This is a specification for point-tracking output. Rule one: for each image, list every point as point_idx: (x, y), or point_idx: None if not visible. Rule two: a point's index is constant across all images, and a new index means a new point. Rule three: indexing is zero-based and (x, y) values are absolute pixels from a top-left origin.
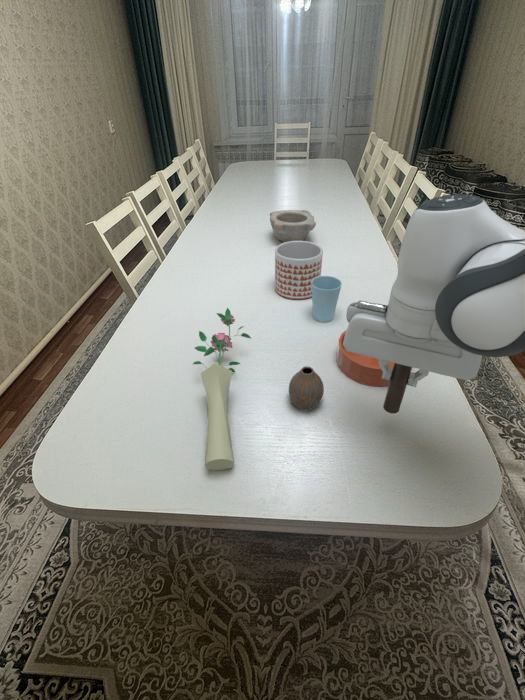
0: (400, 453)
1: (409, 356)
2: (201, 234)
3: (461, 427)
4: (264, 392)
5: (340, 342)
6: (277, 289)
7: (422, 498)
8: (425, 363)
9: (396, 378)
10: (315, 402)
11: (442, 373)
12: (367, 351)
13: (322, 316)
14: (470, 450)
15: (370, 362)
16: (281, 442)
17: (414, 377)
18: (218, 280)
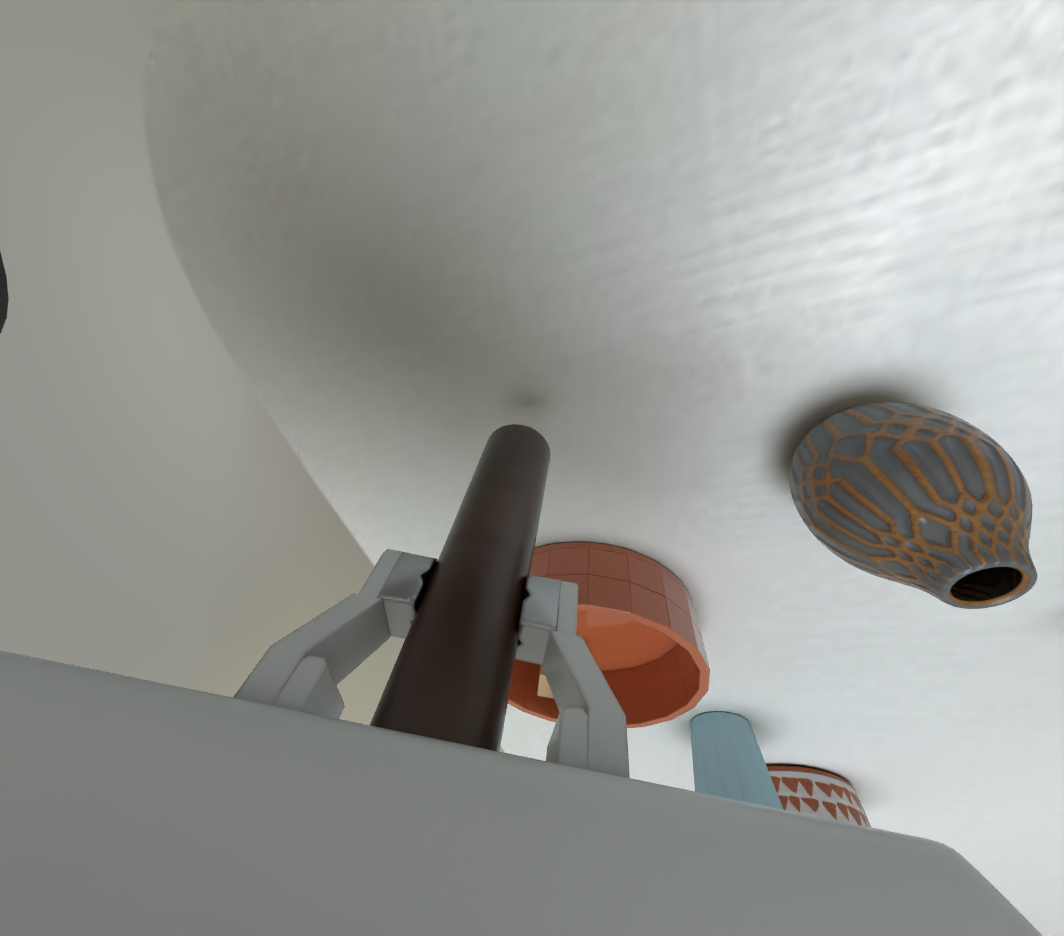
0: (473, 285)
1: (325, 906)
2: (1043, 915)
3: (323, 443)
4: (1040, 461)
5: (703, 683)
6: (857, 798)
7: (354, 46)
8: (186, 808)
9: (488, 595)
10: (850, 430)
11: (98, 692)
12: (788, 907)
13: (731, 734)
14: (277, 365)
15: (591, 613)
16: (1060, 169)
17: (384, 611)
18: (1048, 823)
